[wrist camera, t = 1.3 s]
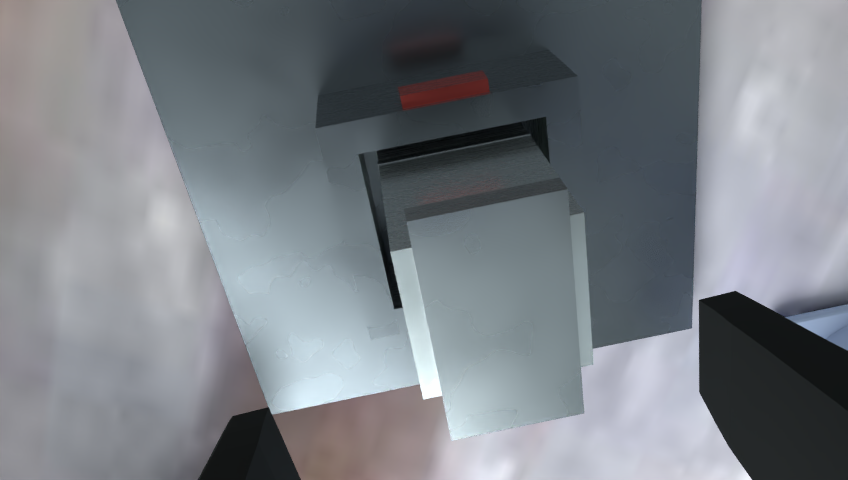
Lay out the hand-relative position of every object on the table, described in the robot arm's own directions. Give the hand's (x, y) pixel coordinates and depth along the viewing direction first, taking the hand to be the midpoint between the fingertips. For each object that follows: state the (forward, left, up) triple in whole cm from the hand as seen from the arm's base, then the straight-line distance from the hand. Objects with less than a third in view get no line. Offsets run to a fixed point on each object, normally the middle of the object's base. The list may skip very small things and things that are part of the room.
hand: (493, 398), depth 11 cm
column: (-1, 0, -10) cm, 10 cm away
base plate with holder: (-1, 0, -10) cm, 10 cm away
